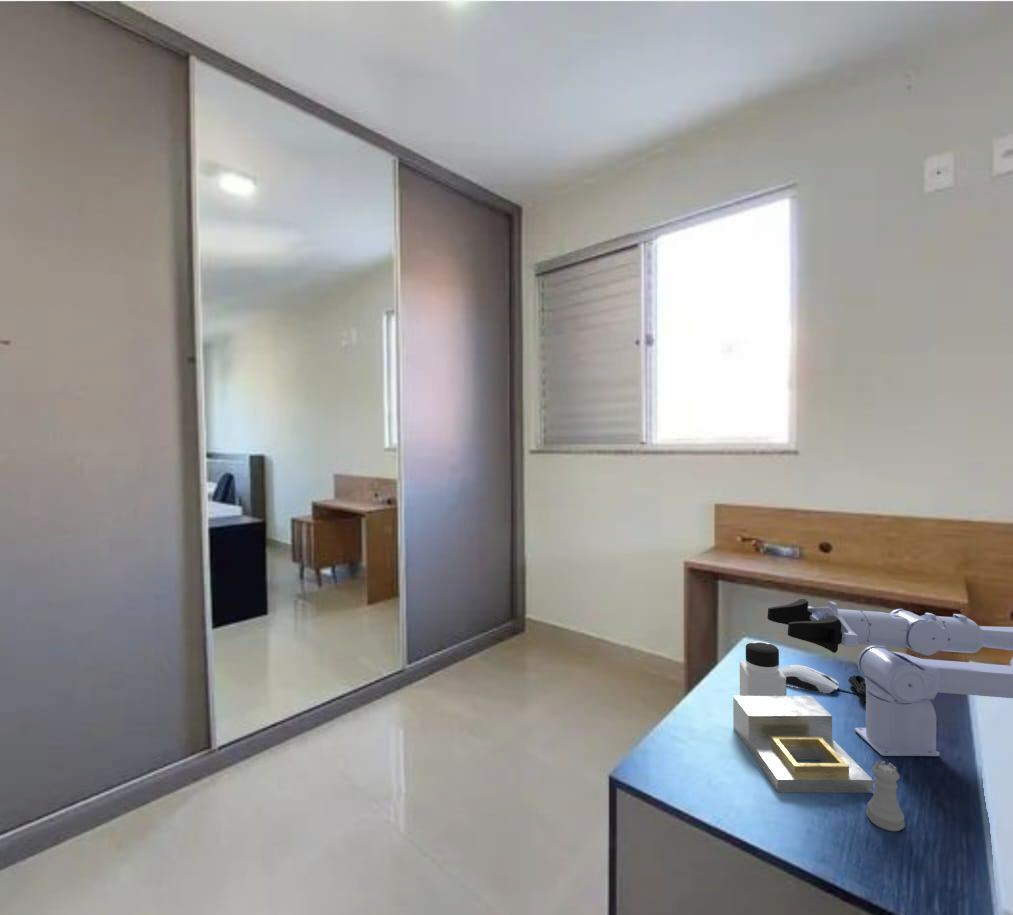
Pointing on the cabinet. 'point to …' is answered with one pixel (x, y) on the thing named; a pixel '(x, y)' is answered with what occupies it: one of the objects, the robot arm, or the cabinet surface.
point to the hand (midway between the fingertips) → (778, 621)
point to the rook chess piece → (885, 799)
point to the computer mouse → (820, 680)
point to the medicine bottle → (761, 671)
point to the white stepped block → (796, 745)
